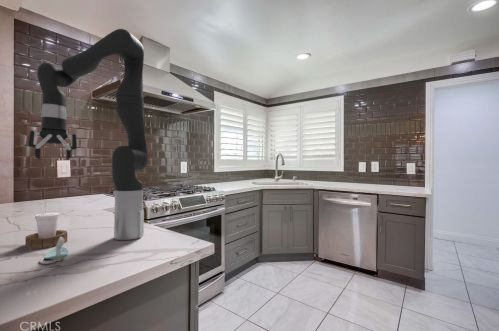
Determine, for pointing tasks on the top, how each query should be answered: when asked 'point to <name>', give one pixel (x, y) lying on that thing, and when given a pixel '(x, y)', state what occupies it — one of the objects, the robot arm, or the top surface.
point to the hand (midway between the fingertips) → (53, 159)
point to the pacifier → (55, 253)
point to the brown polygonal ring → (44, 240)
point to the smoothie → (47, 223)
